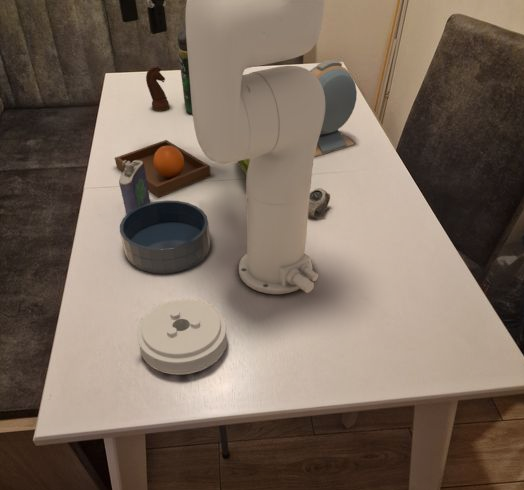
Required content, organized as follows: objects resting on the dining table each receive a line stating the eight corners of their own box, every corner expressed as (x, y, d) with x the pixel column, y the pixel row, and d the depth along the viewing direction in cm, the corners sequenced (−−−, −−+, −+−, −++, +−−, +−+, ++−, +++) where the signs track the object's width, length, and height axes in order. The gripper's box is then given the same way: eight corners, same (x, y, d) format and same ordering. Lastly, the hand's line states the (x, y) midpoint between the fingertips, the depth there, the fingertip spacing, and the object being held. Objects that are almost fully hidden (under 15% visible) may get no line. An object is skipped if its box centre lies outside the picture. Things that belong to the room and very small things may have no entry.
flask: (138, 227, 92) (127, 174, 84) (124, 226, 92) (111, 173, 85) (153, 202, 98) (143, 150, 90) (139, 201, 99) (128, 149, 91)
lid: (134, 378, 67) (127, 354, 64) (148, 316, 76) (142, 291, 72) (225, 378, 67) (223, 355, 64) (229, 316, 76) (227, 291, 72)
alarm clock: (332, 128, 122) (341, 49, 109) (357, 143, 117) (370, 62, 104) (286, 142, 117) (289, 60, 104) (309, 158, 112) (316, 74, 98)
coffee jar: (183, 102, 133) (174, 23, 119) (212, 100, 134) (206, 21, 120) (186, 116, 127) (177, 34, 113) (216, 114, 128) (211, 33, 114)
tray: (210, 176, 106) (209, 165, 104) (158, 197, 100) (156, 186, 98) (167, 149, 114) (166, 139, 112) (116, 168, 108) (114, 157, 106)
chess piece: (172, 109, 130) (166, 68, 122) (154, 113, 128) (147, 71, 121) (165, 103, 133) (160, 63, 125) (148, 107, 131) (141, 66, 123)
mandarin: (180, 171, 107) (193, 170, 102) (156, 182, 105) (168, 182, 100) (169, 142, 104) (182, 139, 99) (143, 152, 102) (155, 151, 97)
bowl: (226, 249, 88) (225, 225, 84) (155, 285, 81) (150, 261, 77) (178, 214, 95) (175, 191, 92) (109, 244, 88) (103, 221, 85)
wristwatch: (302, 216, 95) (304, 193, 91) (319, 203, 98) (321, 180, 95) (317, 222, 94) (319, 199, 90) (334, 209, 97) (337, 186, 93)
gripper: (79, -101, 81) (103, 20, 93) (134, -91, 72) (152, 41, 85) (118, -104, 84) (137, 13, 97) (176, -94, 75) (187, 33, 88)
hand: (144, 26), depth 91 cm, fingers open, 9 cm apart
